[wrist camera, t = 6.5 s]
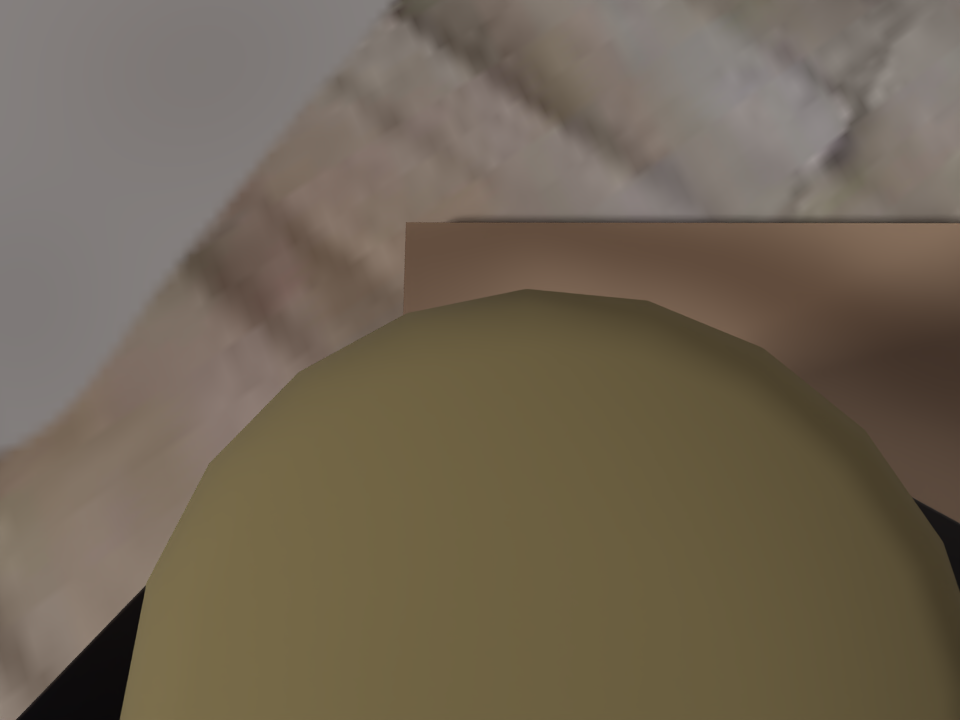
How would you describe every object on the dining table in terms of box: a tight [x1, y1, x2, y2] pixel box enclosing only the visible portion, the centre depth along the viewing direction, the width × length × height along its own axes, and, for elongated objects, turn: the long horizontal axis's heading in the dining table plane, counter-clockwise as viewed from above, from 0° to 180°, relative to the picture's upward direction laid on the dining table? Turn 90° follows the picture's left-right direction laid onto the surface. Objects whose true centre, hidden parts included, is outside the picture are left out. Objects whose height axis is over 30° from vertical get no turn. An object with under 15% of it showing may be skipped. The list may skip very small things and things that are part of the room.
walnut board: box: [403, 222, 960, 523], centre depth 21 cm, size 18×14×1 cm
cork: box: [120, 289, 960, 720], centre depth 10 cm, size 6×6×11 cm
